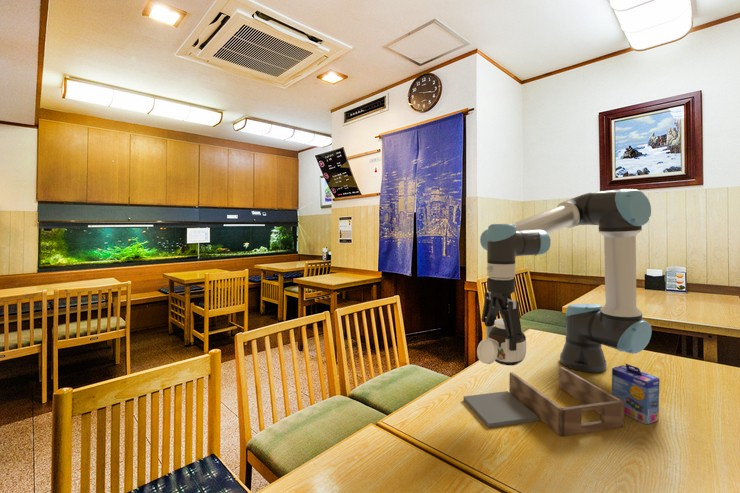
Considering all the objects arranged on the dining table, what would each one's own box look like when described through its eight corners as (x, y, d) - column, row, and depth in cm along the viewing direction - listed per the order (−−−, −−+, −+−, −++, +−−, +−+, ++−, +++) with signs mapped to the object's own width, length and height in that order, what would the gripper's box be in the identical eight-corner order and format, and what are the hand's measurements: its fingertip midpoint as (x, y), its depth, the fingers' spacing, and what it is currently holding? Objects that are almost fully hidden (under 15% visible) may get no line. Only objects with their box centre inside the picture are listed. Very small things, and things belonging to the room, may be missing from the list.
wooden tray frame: (509, 393, 113) (509, 372, 113) (561, 387, 117) (562, 366, 116) (560, 436, 91) (561, 410, 90) (623, 426, 94) (624, 401, 94)
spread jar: (529, 361, 102) (529, 321, 101) (514, 374, 94) (515, 331, 93) (489, 351, 110) (489, 314, 109) (472, 362, 102) (472, 322, 101)
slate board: (463, 400, 110) (463, 396, 110) (507, 394, 112) (507, 391, 112) (488, 427, 95) (488, 423, 95) (538, 420, 98) (538, 416, 98)
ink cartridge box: (609, 407, 104) (611, 359, 103) (621, 403, 106) (623, 356, 105) (646, 425, 95) (648, 373, 93) (659, 420, 97) (661, 369, 96)
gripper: (470, 272, 111) (469, 341, 113) (511, 285, 89) (510, 371, 91) (492, 271, 112) (491, 340, 114) (538, 284, 90) (536, 368, 92)
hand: (500, 353), depth 102 cm, fingers closed on spread jar, 10 cm apart
